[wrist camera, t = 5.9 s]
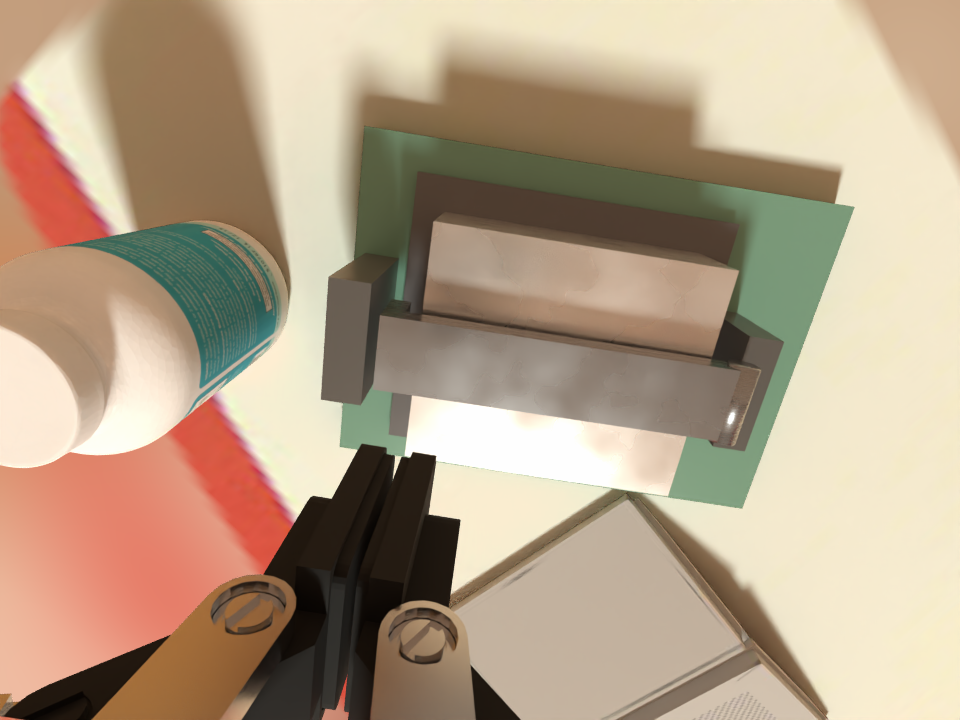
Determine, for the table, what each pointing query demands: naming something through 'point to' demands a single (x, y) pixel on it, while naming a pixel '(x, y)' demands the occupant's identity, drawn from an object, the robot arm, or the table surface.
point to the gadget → (620, 633)
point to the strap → (561, 376)
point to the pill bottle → (128, 335)
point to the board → (757, 254)
